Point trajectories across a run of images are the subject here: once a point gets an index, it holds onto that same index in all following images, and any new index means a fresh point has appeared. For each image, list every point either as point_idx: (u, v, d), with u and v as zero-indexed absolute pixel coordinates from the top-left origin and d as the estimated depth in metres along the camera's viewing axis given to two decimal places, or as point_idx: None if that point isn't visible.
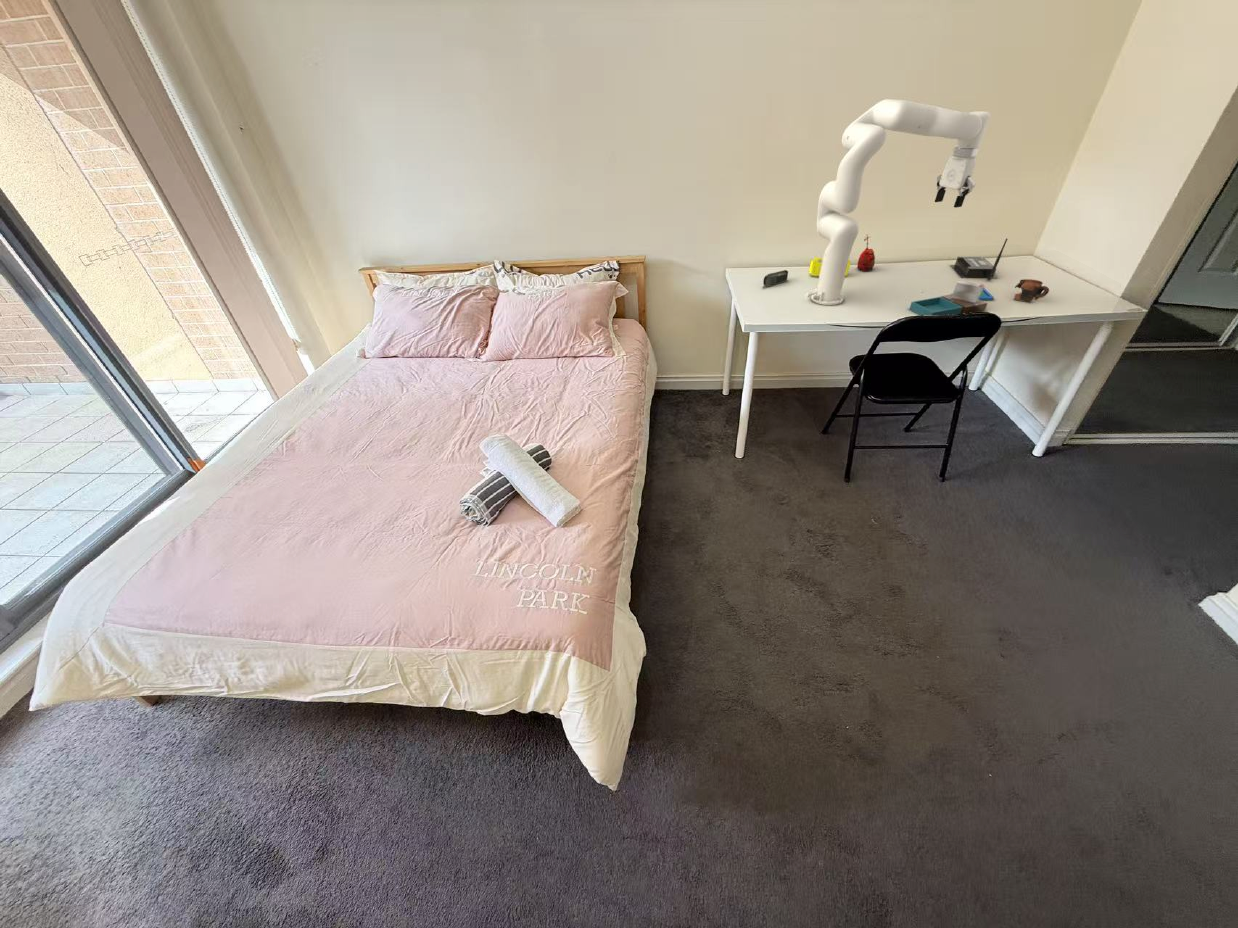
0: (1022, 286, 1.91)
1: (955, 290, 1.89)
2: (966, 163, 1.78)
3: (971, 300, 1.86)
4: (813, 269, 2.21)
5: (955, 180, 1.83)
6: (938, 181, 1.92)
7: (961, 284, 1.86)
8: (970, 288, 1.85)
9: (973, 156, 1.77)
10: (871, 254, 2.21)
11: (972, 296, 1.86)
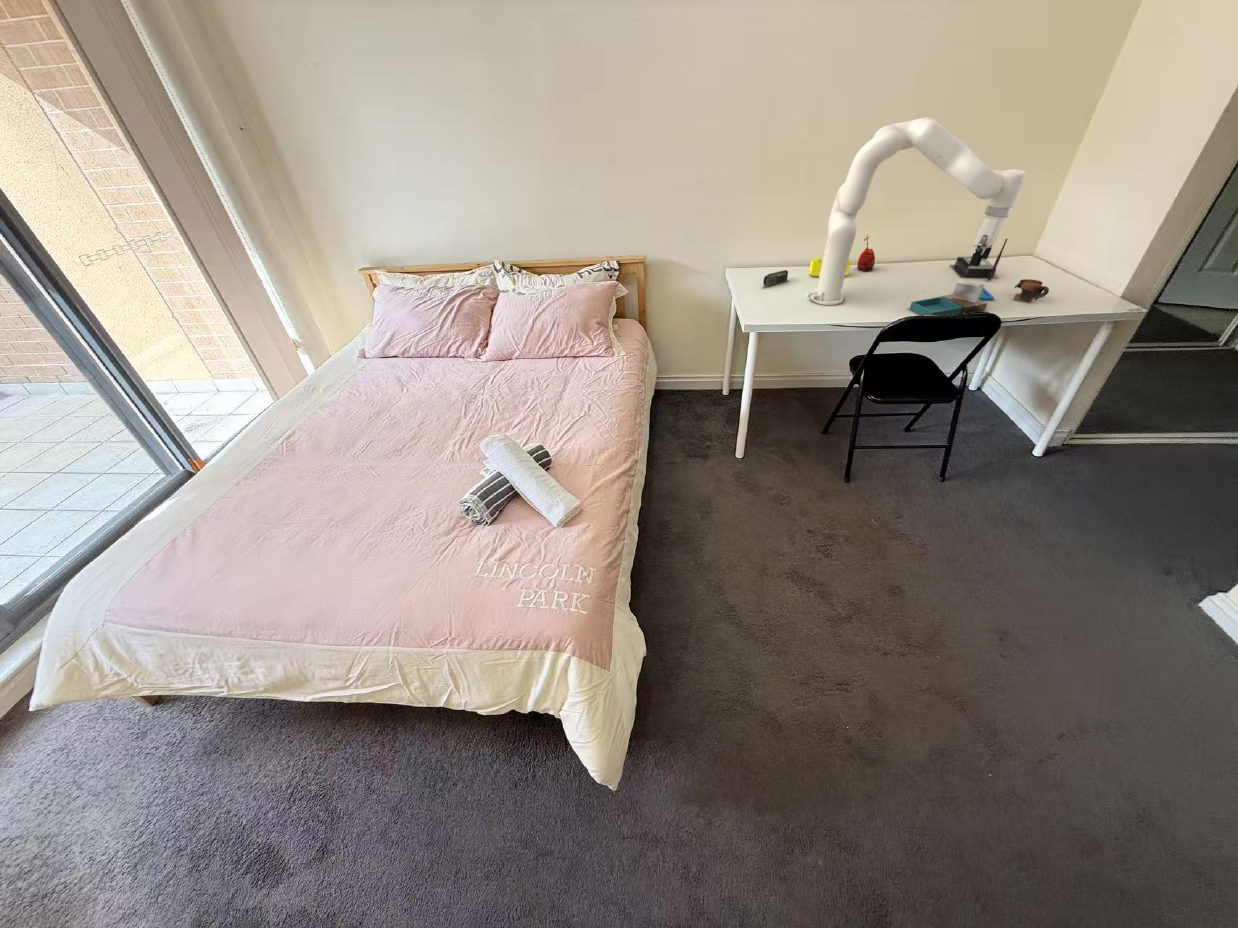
0: (1022, 286, 1.91)
1: (955, 290, 1.89)
2: (984, 221, 1.71)
3: (971, 300, 1.86)
4: (813, 269, 2.21)
5: None
6: None
7: (961, 284, 1.86)
8: (970, 288, 1.85)
9: (995, 216, 1.68)
10: (871, 254, 2.21)
11: (972, 296, 1.86)
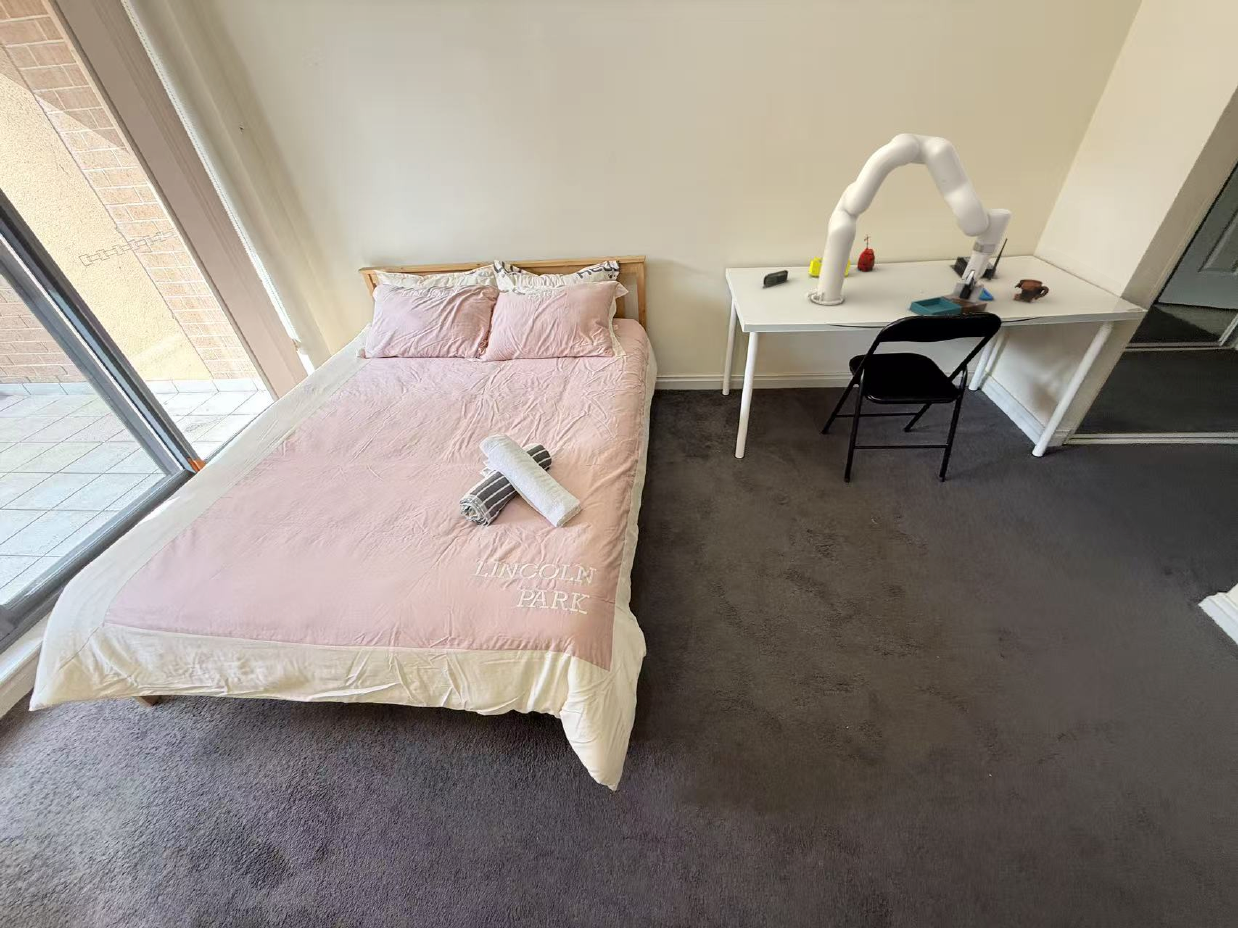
0: (1022, 286, 1.91)
1: (955, 290, 1.89)
2: (971, 256, 1.77)
3: (971, 300, 1.86)
4: (813, 269, 2.21)
5: None
6: None
7: (961, 284, 1.86)
8: None
9: (982, 252, 1.75)
10: (871, 254, 2.21)
11: (972, 296, 1.86)
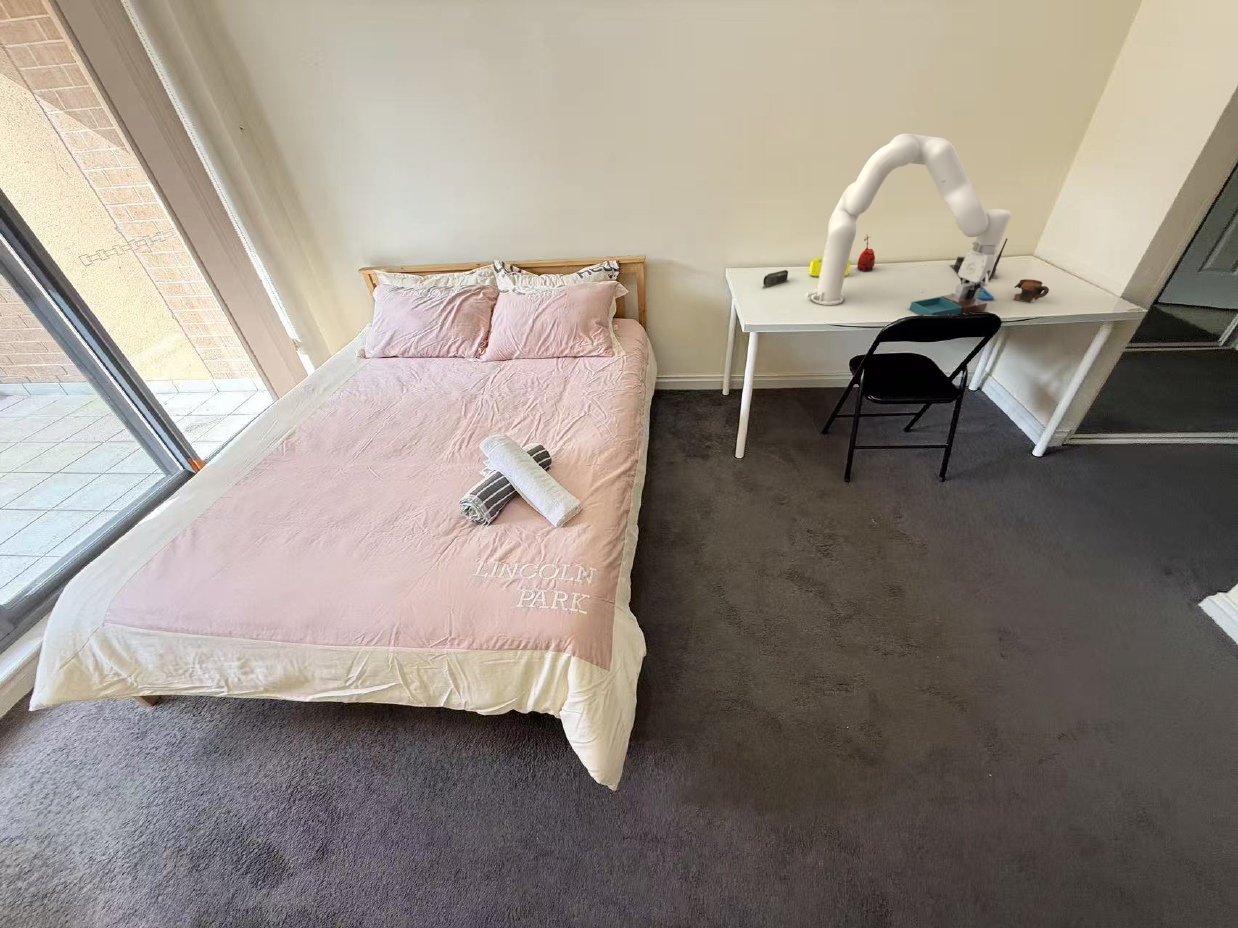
0: (1022, 286, 1.91)
1: (961, 294, 1.85)
2: (986, 259, 1.75)
3: (973, 297, 1.88)
4: (813, 269, 2.21)
5: (975, 274, 1.80)
6: None
7: (967, 287, 1.84)
8: None
9: (993, 252, 1.75)
10: (871, 254, 2.21)
11: None
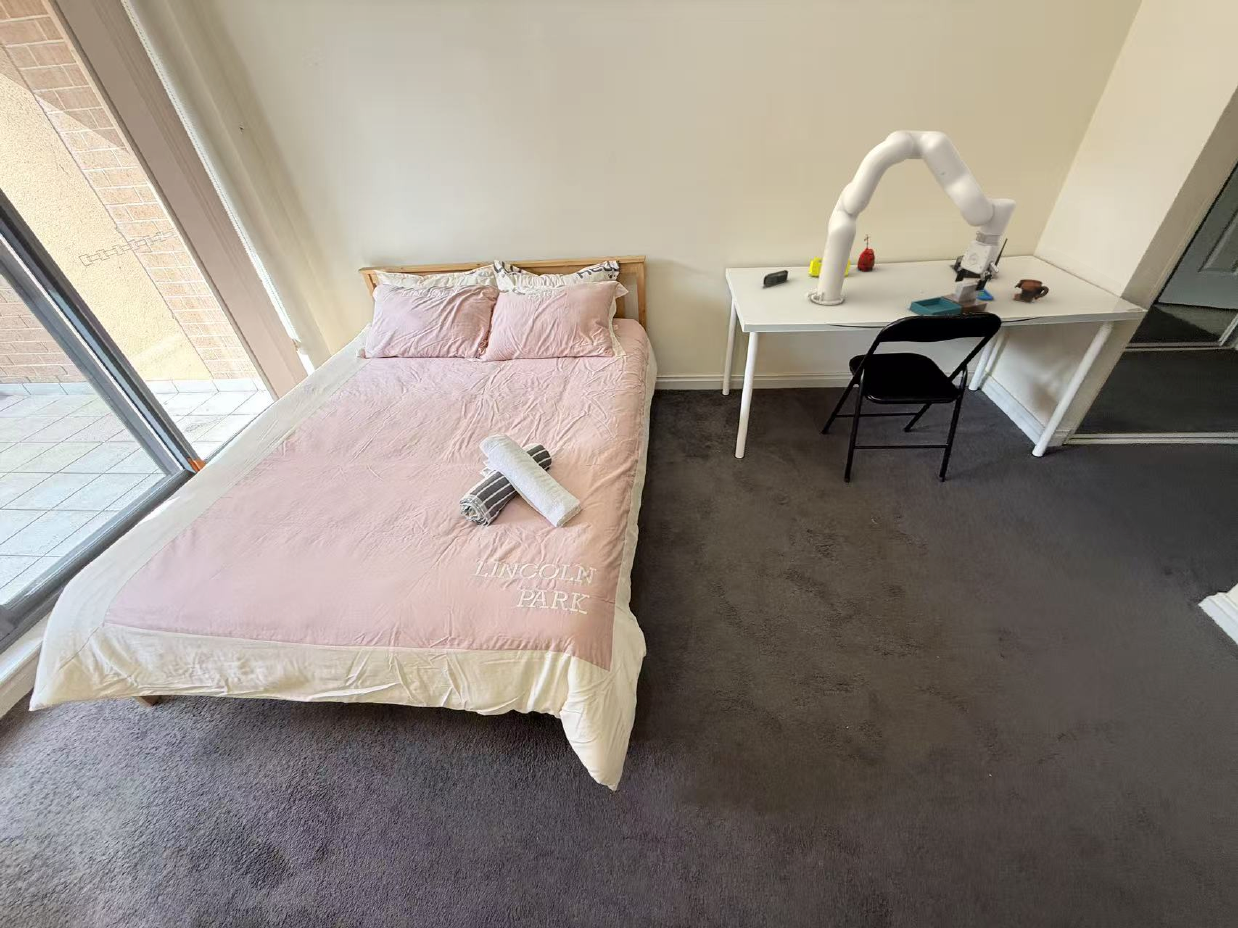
0: (1022, 286, 1.91)
1: (961, 294, 1.85)
2: (990, 249, 1.73)
3: (973, 297, 1.88)
4: (813, 269, 2.21)
5: (977, 264, 1.78)
6: (959, 261, 1.87)
7: (967, 287, 1.84)
8: (973, 287, 1.85)
9: (997, 242, 1.72)
10: (871, 254, 2.21)
11: (974, 294, 1.87)
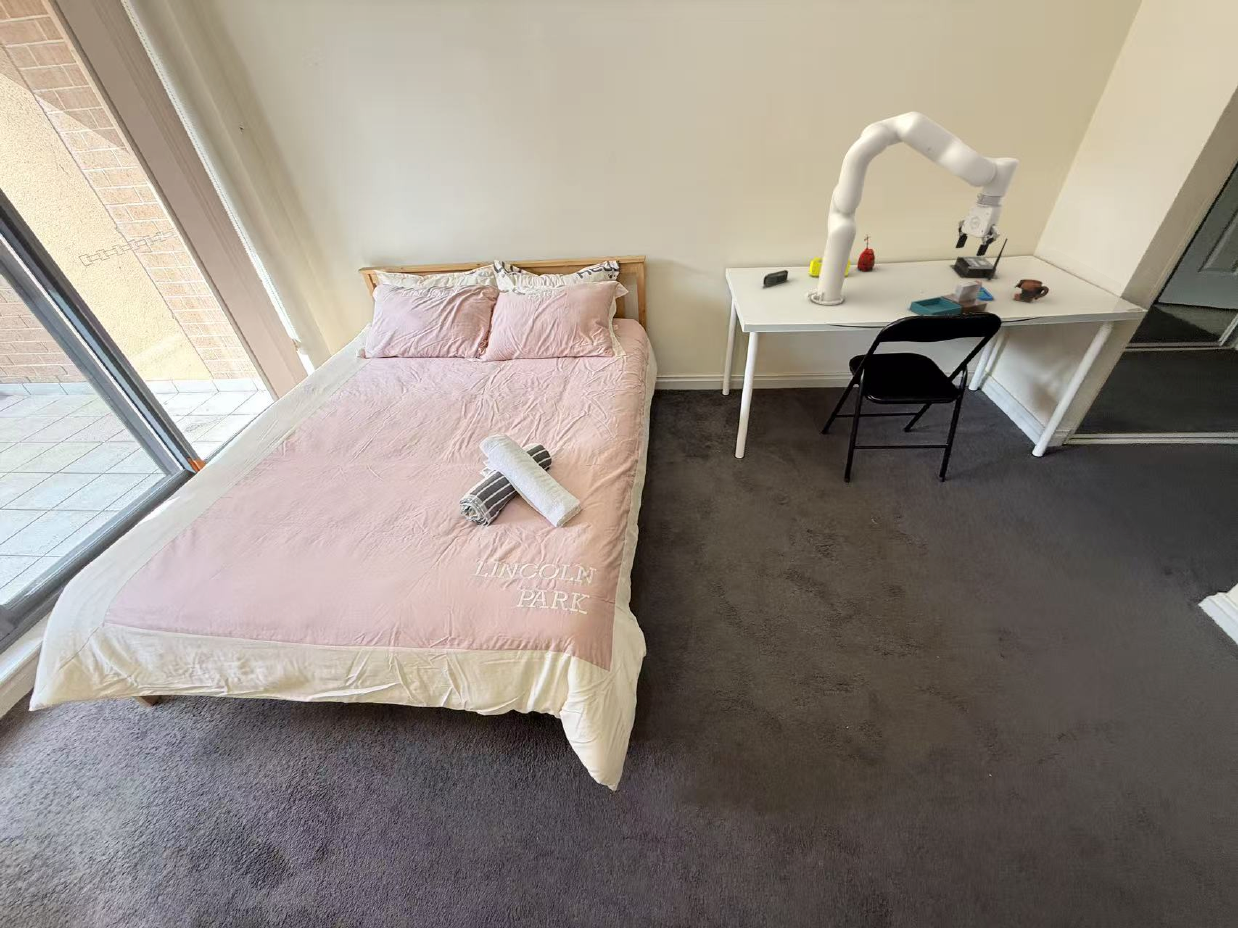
0: (1022, 286, 1.91)
1: (961, 294, 1.85)
2: (991, 211, 1.67)
3: (973, 297, 1.88)
4: (813, 269, 2.21)
5: (979, 228, 1.72)
6: (960, 226, 1.81)
7: (967, 287, 1.84)
8: (973, 287, 1.85)
9: (999, 204, 1.67)
10: (871, 254, 2.21)
11: (974, 294, 1.87)
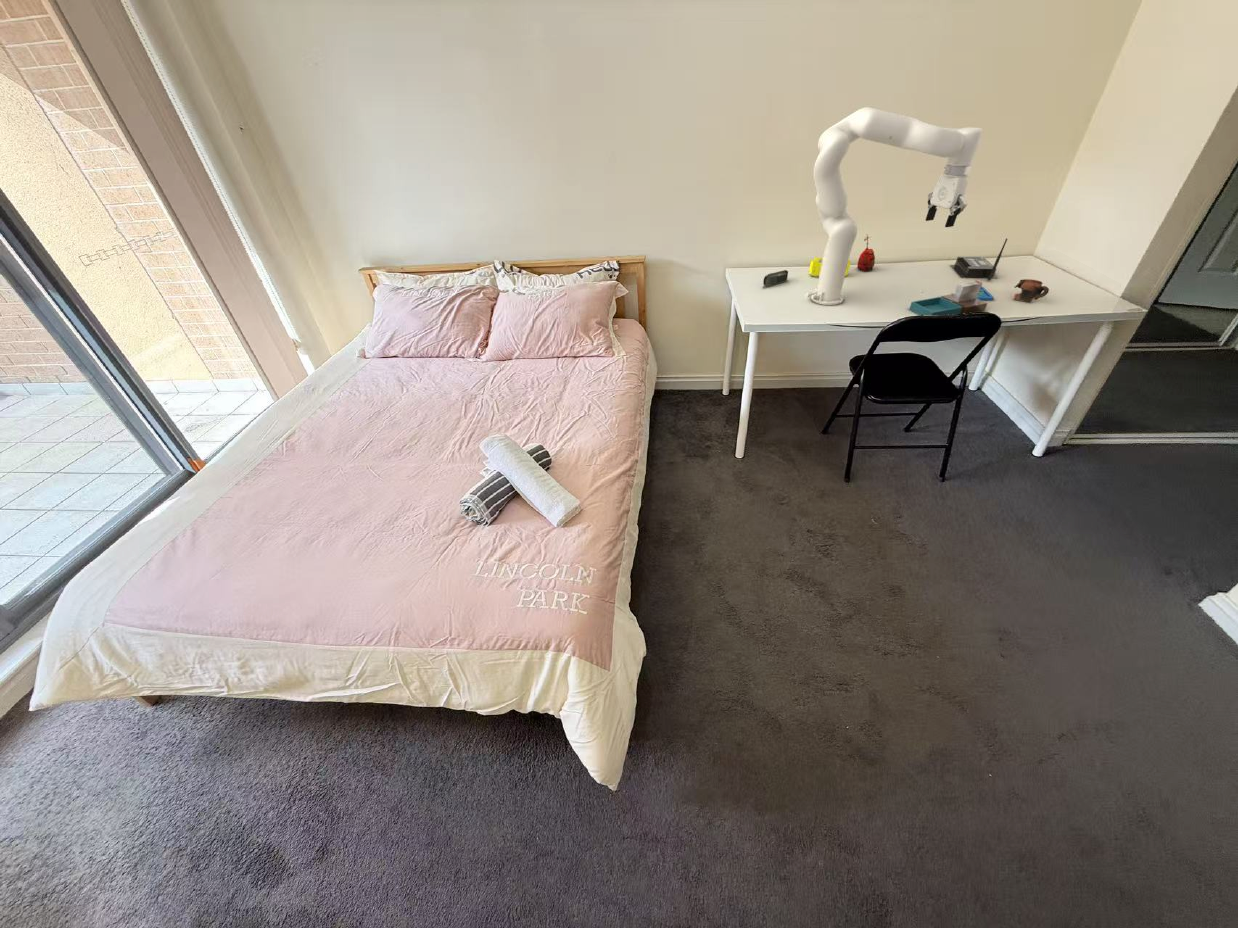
0: (1022, 286, 1.91)
1: (961, 294, 1.85)
2: (958, 181, 1.69)
3: (973, 297, 1.88)
4: (813, 269, 2.21)
5: (946, 199, 1.74)
6: (929, 199, 1.83)
7: (967, 287, 1.84)
8: (973, 287, 1.85)
9: (965, 174, 1.68)
10: (871, 254, 2.21)
11: (974, 294, 1.87)
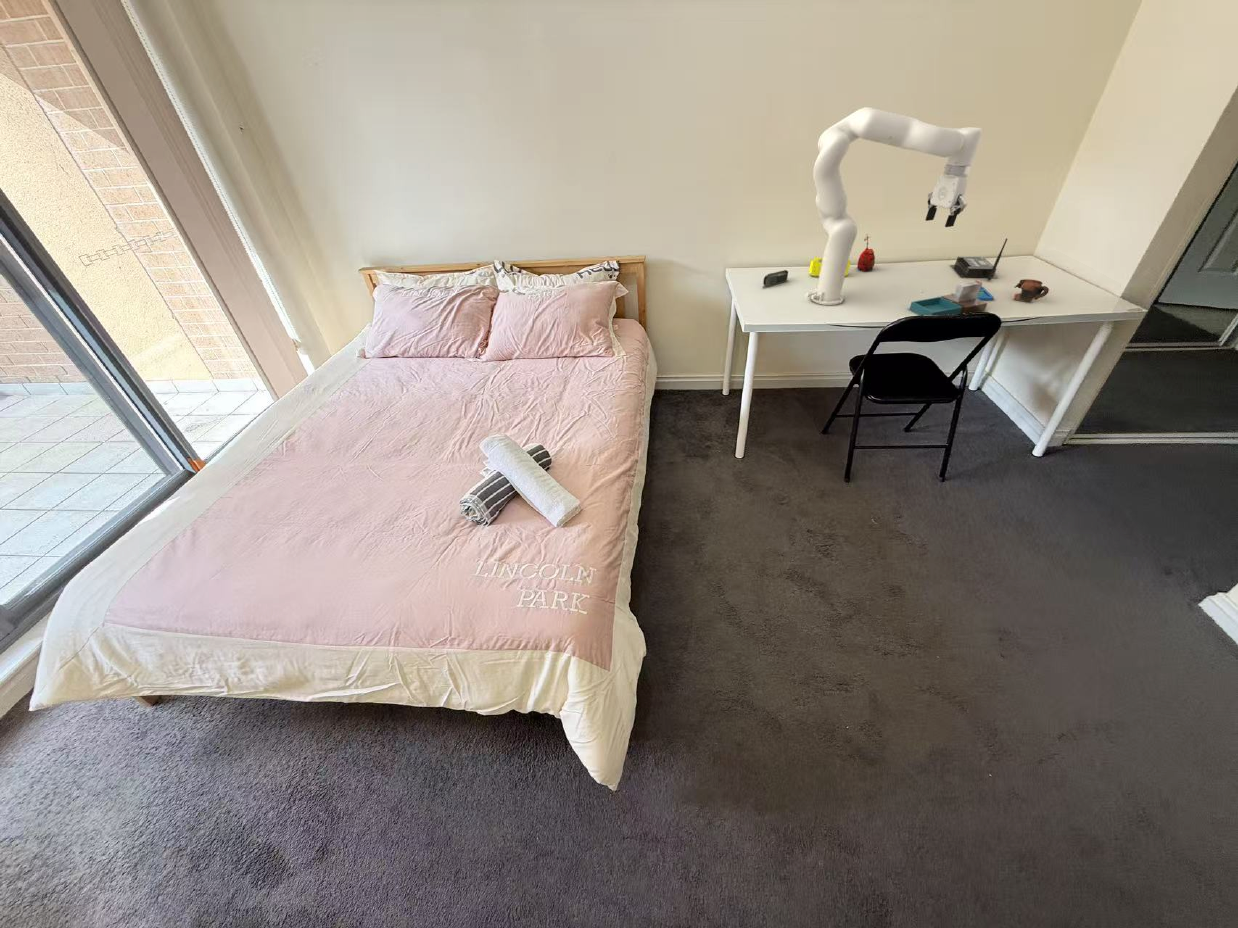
0: (1022, 286, 1.91)
1: (961, 294, 1.85)
2: (958, 181, 1.69)
3: (973, 297, 1.88)
4: (813, 269, 2.21)
5: (946, 199, 1.74)
6: (929, 199, 1.83)
7: (967, 287, 1.84)
8: (973, 287, 1.85)
9: (965, 174, 1.68)
10: (871, 254, 2.21)
11: (974, 294, 1.87)
